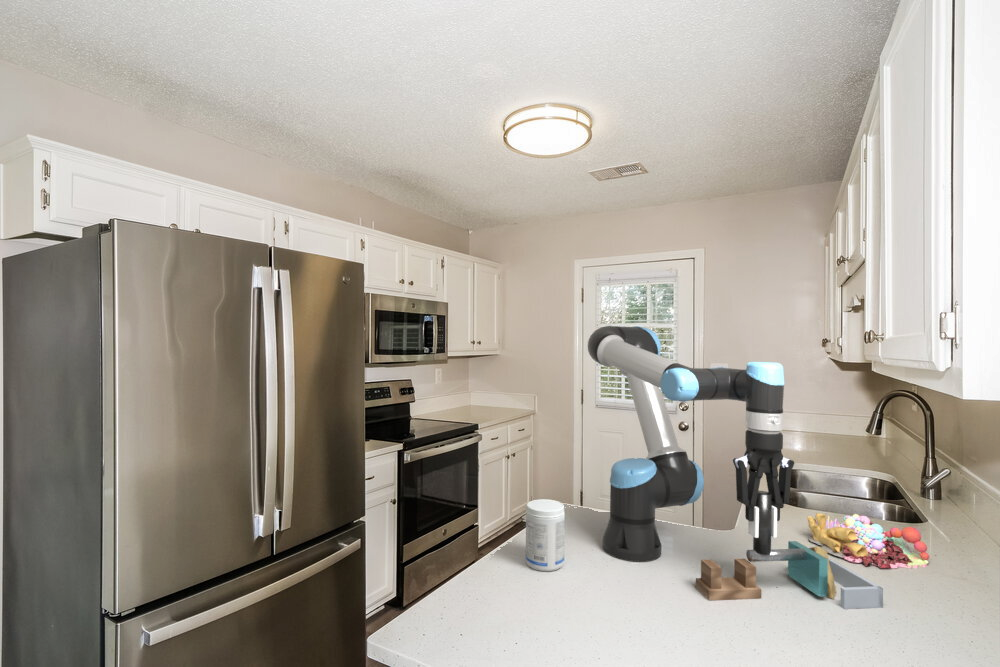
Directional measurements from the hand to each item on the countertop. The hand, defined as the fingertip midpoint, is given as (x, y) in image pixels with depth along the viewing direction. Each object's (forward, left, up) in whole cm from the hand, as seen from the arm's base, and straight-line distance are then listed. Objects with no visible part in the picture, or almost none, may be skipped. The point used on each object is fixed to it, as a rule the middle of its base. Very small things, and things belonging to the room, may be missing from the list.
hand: (762, 535), depth 115 cm
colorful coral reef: (+43, +20, -13) cm, 49 cm away
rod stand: (-8, 0, -13) cm, 15 cm away
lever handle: (+5, 0, -12) cm, 12 cm away
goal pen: (+17, 0, -13) cm, 22 cm away
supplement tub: (-46, +17, -13) cm, 51 cm away
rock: (+16, +1, -13) cm, 21 cm away
